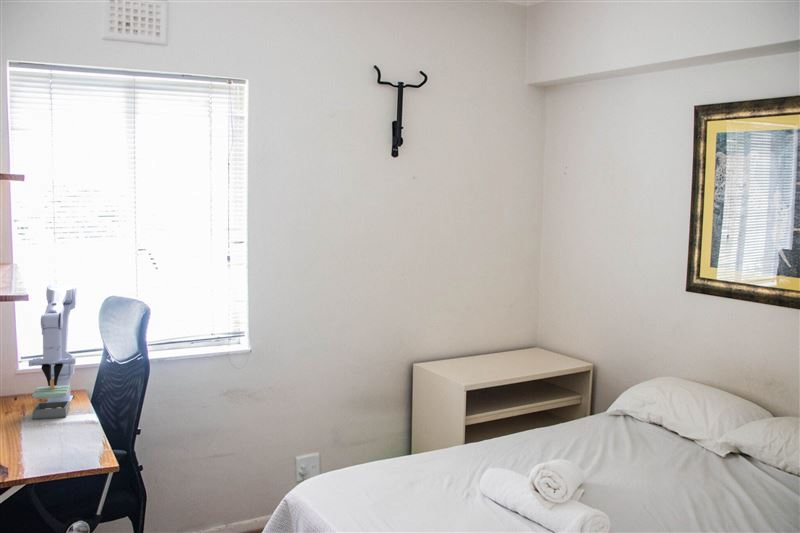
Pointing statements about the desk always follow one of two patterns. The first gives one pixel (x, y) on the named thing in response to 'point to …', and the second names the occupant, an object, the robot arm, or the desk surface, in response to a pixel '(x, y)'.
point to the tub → (51, 410)
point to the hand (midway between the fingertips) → (52, 385)
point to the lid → (51, 391)
